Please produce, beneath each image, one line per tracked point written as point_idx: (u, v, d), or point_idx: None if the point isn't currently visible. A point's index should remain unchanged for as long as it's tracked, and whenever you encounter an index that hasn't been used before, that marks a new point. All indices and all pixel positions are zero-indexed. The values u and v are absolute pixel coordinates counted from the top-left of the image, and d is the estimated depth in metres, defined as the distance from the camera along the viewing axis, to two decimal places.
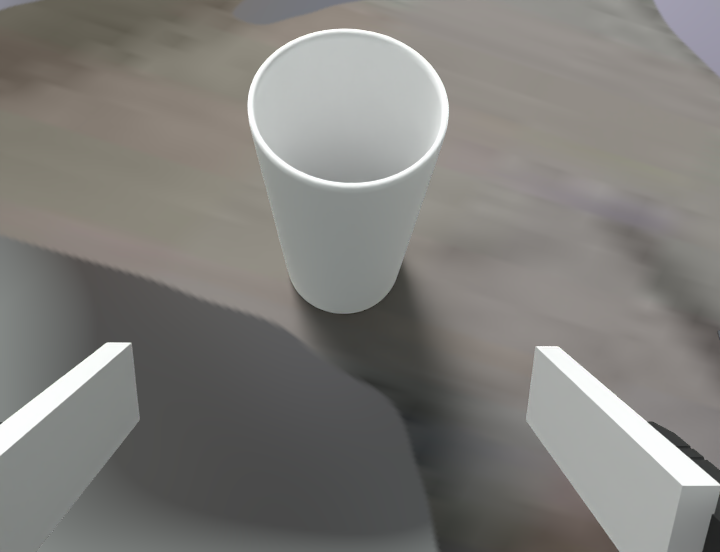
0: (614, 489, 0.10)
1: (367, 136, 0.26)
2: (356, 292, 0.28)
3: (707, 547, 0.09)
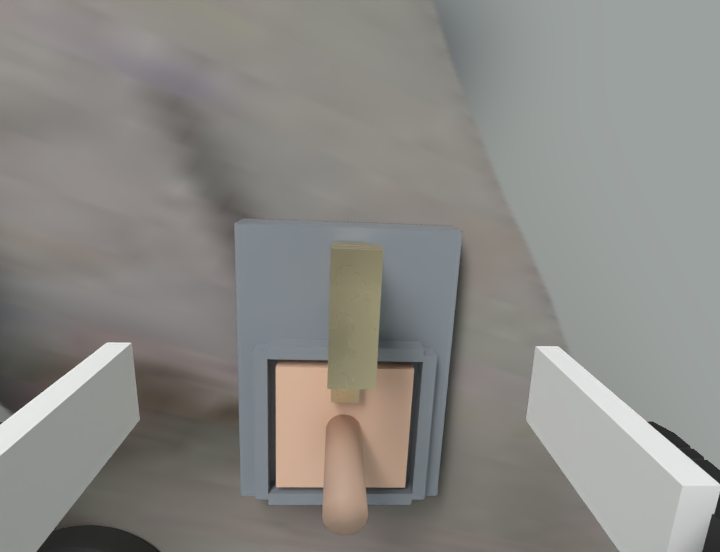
0: (614, 489, 0.10)
1: None
2: None
3: (707, 547, 0.09)
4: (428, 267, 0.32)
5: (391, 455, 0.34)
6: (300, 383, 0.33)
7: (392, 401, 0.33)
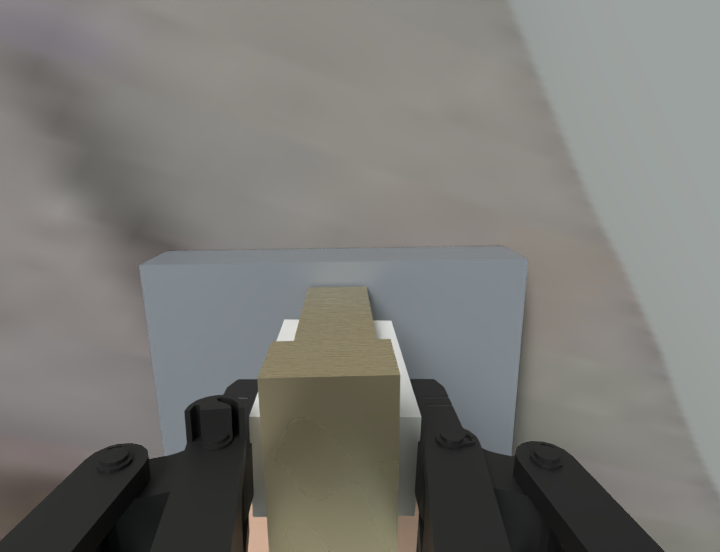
0: None
1: None
2: None
3: (417, 469, 0.11)
4: (471, 320, 0.19)
5: None
6: None
7: None
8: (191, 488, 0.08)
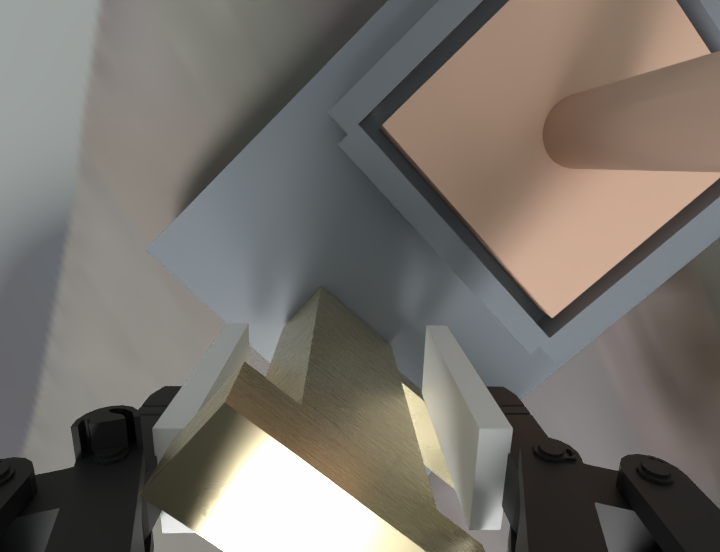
0: (455, 441, 0.12)
1: None
2: None
3: (506, 481, 0.10)
4: (233, 244, 0.18)
5: (563, 0, 0.15)
6: (549, 264, 0.17)
7: (464, 103, 0.16)
8: (82, 506, 0.08)
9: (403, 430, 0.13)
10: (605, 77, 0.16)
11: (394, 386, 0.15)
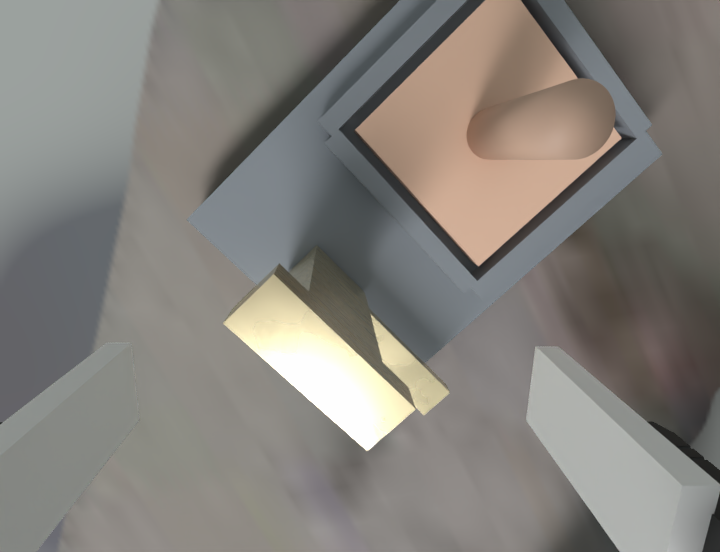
0: (614, 489, 0.10)
1: None
2: None
3: (707, 547, 0.09)
4: (250, 215, 0.25)
5: (477, 44, 0.22)
6: (475, 227, 0.25)
7: (411, 114, 0.23)
8: None
9: (367, 328, 0.20)
10: (507, 96, 0.23)
11: (364, 310, 0.22)
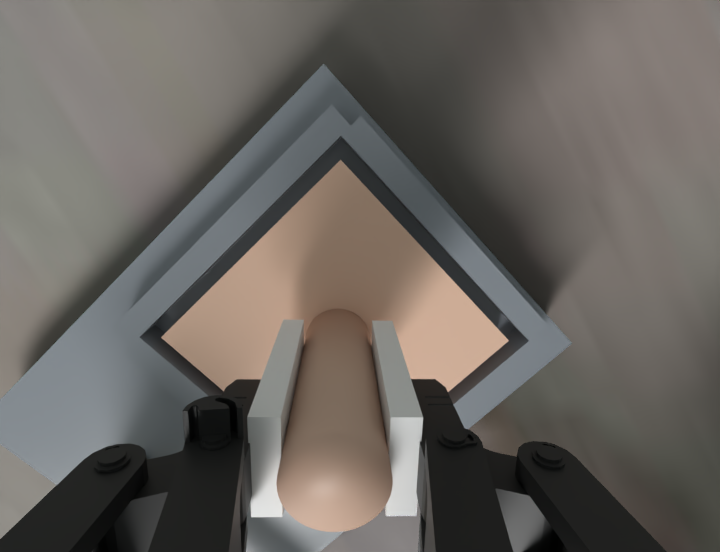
0: None
1: None
2: None
3: (418, 469, 0.11)
4: (53, 420, 0.20)
5: (309, 236, 0.17)
6: None
7: (232, 318, 0.18)
8: (189, 488, 0.08)
9: None
10: (356, 296, 0.18)
11: None
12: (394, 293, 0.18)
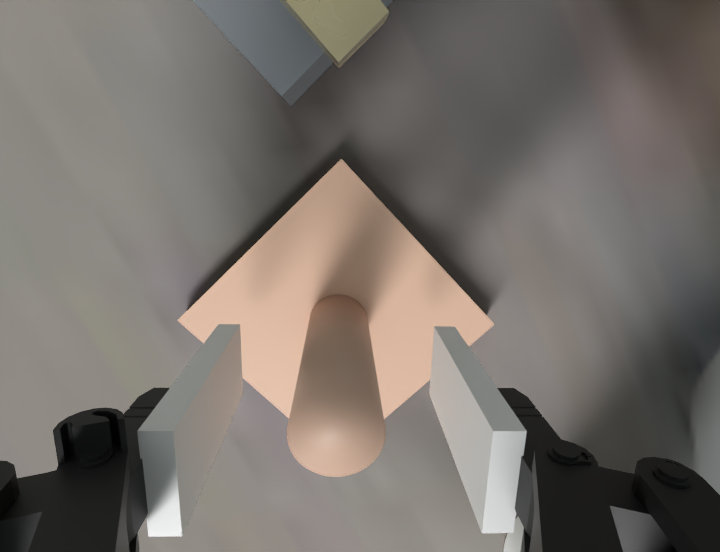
0: (466, 443, 0.12)
1: None
2: None
3: (519, 484, 0.10)
4: None
5: (313, 228, 0.19)
6: None
7: (242, 303, 0.20)
8: (65, 510, 0.08)
9: None
10: (355, 282, 0.20)
11: None
12: (390, 280, 0.20)
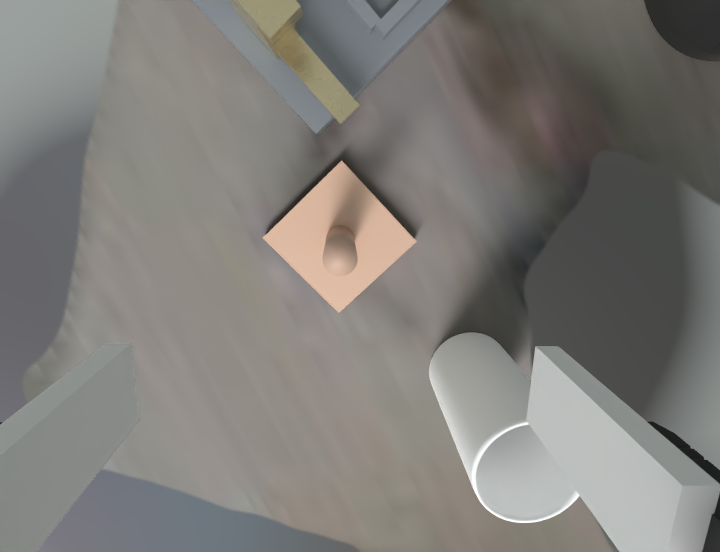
0: (614, 489, 0.10)
1: None
2: (508, 356, 0.42)
3: (707, 547, 0.09)
4: None
5: (328, 193, 0.40)
6: (335, 290, 0.43)
7: (294, 229, 0.41)
8: None
9: None
10: (348, 220, 0.41)
11: None
12: (365, 219, 0.41)
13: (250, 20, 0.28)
